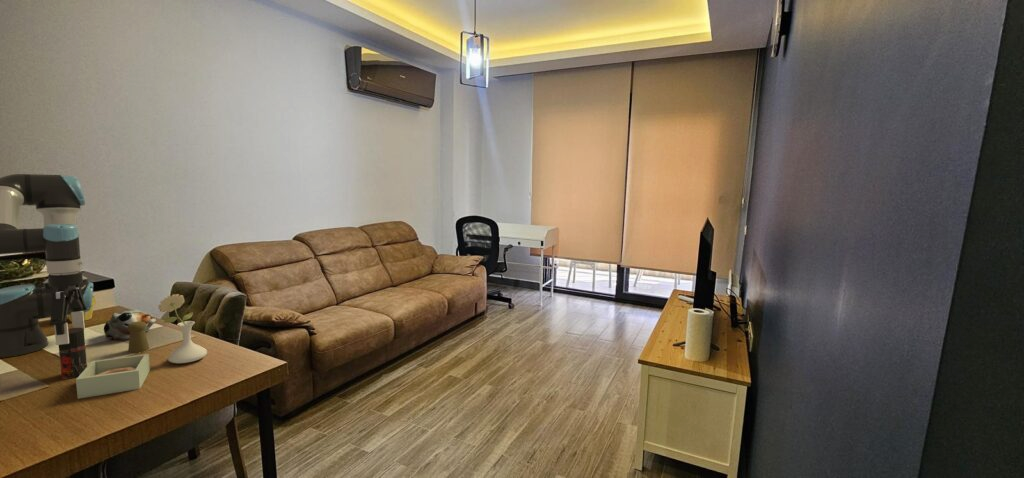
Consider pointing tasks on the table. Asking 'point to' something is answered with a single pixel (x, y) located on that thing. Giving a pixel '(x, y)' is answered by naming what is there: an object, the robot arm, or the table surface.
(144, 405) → the table surface
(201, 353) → the flower in vase
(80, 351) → the deodorant
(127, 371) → the open box
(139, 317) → the lucky cat figurine
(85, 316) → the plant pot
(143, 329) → the cork
